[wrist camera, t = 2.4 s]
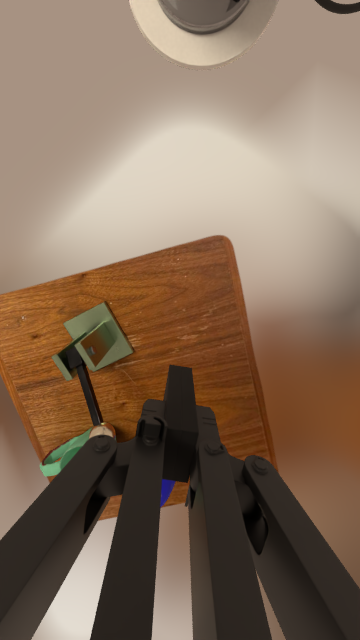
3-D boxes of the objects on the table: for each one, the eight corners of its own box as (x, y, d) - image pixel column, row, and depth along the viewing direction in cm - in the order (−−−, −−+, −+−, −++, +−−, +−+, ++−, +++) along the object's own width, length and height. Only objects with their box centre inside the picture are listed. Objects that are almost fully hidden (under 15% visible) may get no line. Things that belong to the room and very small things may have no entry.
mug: (120, 408, 55) (106, 441, 46) (131, 448, 58) (120, 487, 48) (53, 419, 56) (25, 454, 47) (66, 458, 59) (43, 498, 49)
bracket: (134, 350, 52) (118, 380, 40) (95, 369, 53) (67, 404, 41) (105, 301, 50) (79, 316, 38) (65, 321, 51) (27, 343, 39)
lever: (123, 440, 39) (111, 446, 35) (101, 449, 39) (88, 457, 36) (91, 345, 43) (78, 343, 39) (72, 355, 43) (58, 353, 40)
